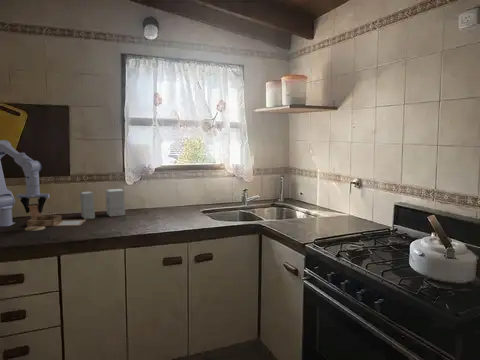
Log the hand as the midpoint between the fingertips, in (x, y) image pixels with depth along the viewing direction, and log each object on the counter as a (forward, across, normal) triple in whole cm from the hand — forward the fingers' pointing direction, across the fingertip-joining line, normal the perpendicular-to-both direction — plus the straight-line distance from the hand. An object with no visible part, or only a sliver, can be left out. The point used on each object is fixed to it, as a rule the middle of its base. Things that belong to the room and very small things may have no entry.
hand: (34, 212), depth 194 cm
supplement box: (+9, +33, +34) cm, 48 cm away
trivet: (+9, 0, 0) cm, 9 cm away
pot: (+2, 0, +1) cm, 2 cm away
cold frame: (+9, +1, +11) cm, 14 cm away
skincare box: (+9, +19, +26) cm, 33 cm away
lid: (+9, +14, +11) cm, 20 cm away
